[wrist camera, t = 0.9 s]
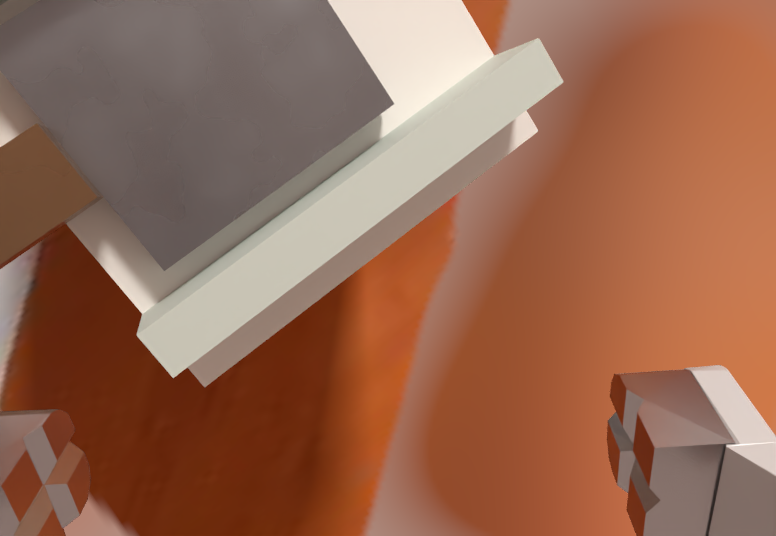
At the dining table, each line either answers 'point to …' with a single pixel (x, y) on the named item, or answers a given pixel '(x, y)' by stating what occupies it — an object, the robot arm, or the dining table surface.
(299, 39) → the brown block on plate
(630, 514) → the robot arm
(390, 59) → the tall box with rails
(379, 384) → the dining table surface
